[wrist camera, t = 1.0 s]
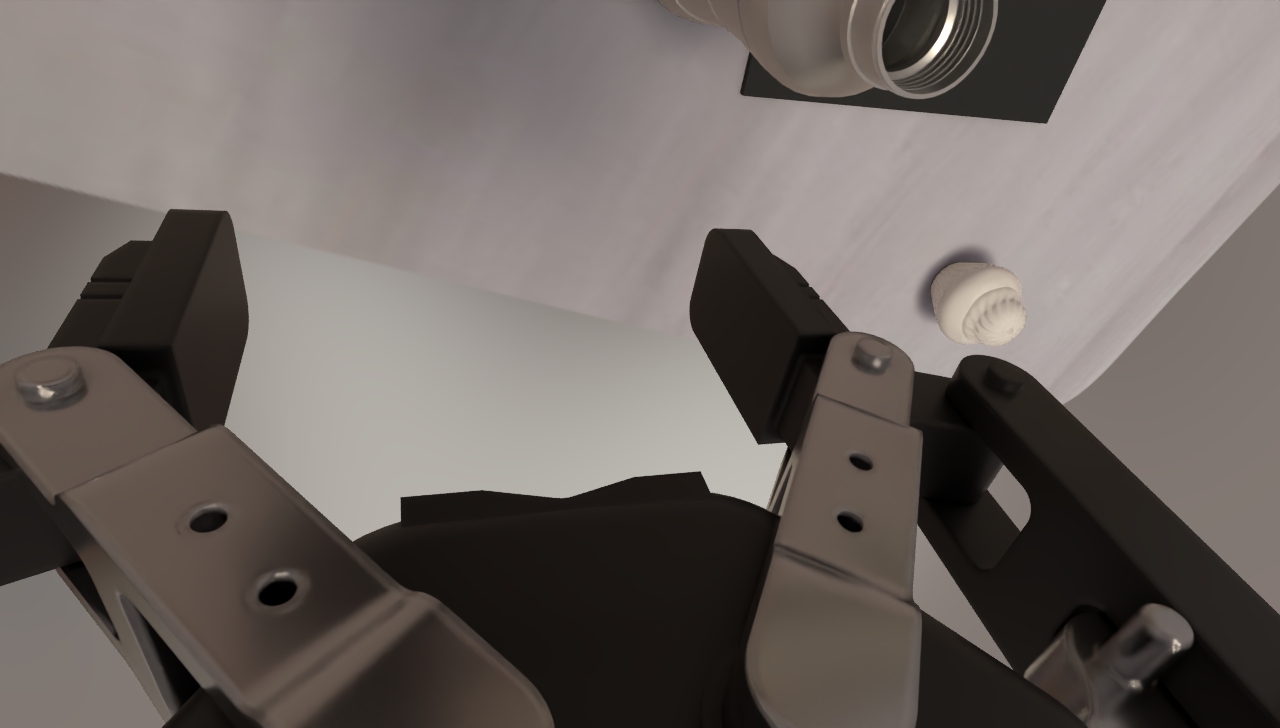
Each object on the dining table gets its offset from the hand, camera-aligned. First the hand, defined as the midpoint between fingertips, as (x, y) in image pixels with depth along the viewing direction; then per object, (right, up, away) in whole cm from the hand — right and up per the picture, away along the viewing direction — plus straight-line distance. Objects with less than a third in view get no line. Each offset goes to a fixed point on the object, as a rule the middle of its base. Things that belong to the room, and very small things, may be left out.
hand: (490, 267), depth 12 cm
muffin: (+26, +5, +40) cm, 48 cm away
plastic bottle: (+5, +19, +22) cm, 29 cm away
